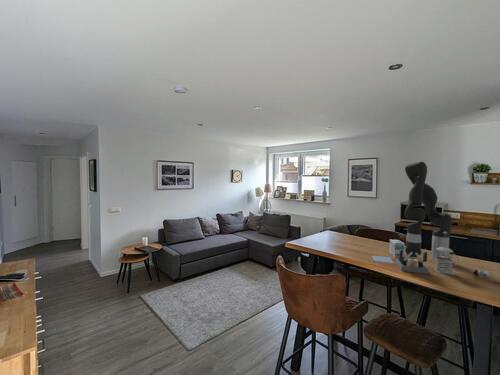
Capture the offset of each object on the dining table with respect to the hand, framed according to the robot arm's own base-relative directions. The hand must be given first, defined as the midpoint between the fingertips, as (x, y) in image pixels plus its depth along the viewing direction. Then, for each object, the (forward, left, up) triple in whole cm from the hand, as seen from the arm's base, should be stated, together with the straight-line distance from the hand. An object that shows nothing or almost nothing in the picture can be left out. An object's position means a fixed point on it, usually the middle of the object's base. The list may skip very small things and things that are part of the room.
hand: (412, 266), depth 146 cm
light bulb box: (+3, -30, -3) cm, 30 cm away
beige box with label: (0, 0, -2) cm, 2 cm away
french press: (-18, -5, -2) cm, 19 cm away
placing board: (+14, -15, -2) cm, 21 cm away
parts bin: (0, -4, -2) cm, 4 cm away
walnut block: (0, -7, -2) cm, 7 cm away
